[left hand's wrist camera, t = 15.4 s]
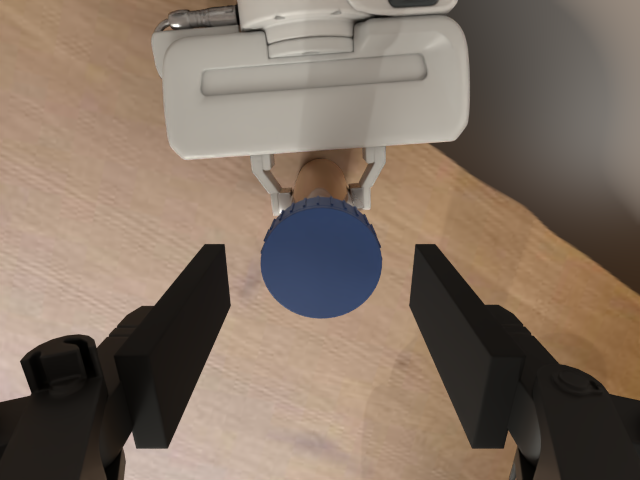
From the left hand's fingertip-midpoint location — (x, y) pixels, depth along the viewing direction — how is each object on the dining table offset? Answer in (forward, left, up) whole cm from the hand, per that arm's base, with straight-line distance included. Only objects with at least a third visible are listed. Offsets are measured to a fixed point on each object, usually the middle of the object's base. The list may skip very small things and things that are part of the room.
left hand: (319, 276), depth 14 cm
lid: (0, 0, -2) cm, 2 cm away
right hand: (-1, +1, -14) cm, 14 cm away
